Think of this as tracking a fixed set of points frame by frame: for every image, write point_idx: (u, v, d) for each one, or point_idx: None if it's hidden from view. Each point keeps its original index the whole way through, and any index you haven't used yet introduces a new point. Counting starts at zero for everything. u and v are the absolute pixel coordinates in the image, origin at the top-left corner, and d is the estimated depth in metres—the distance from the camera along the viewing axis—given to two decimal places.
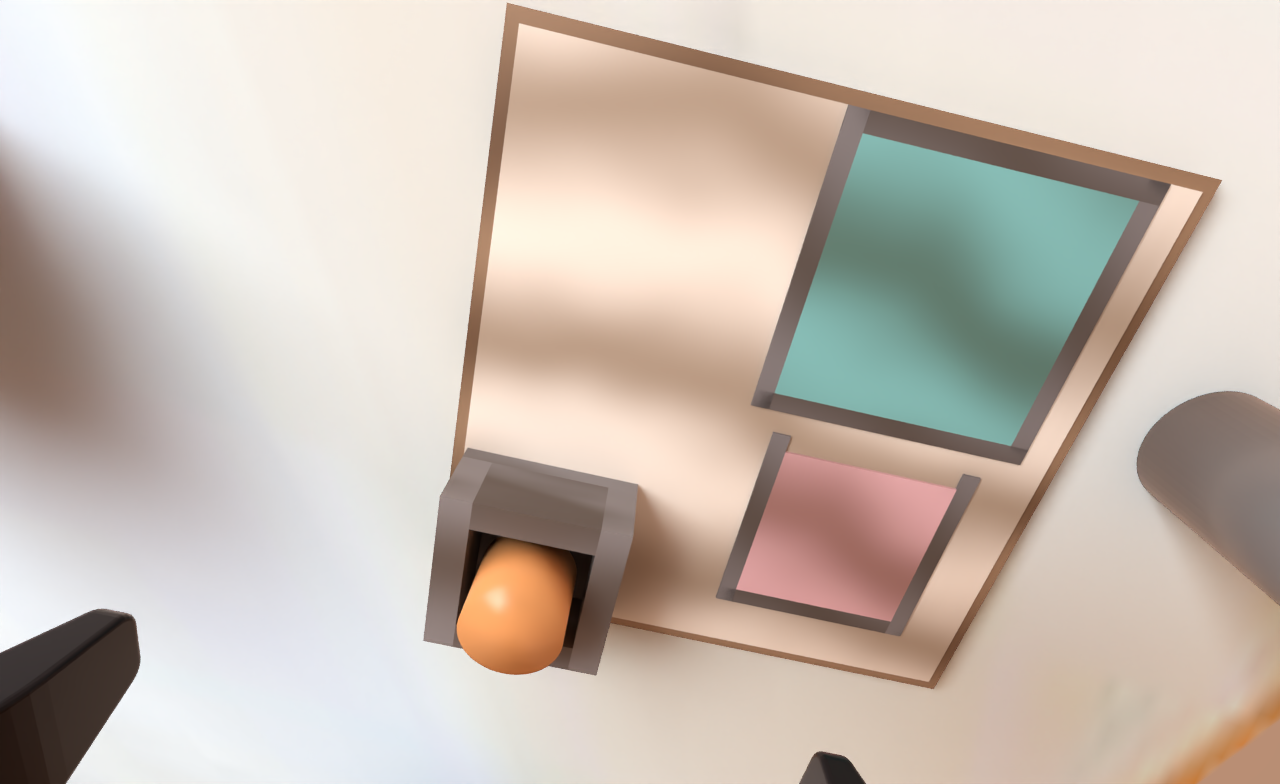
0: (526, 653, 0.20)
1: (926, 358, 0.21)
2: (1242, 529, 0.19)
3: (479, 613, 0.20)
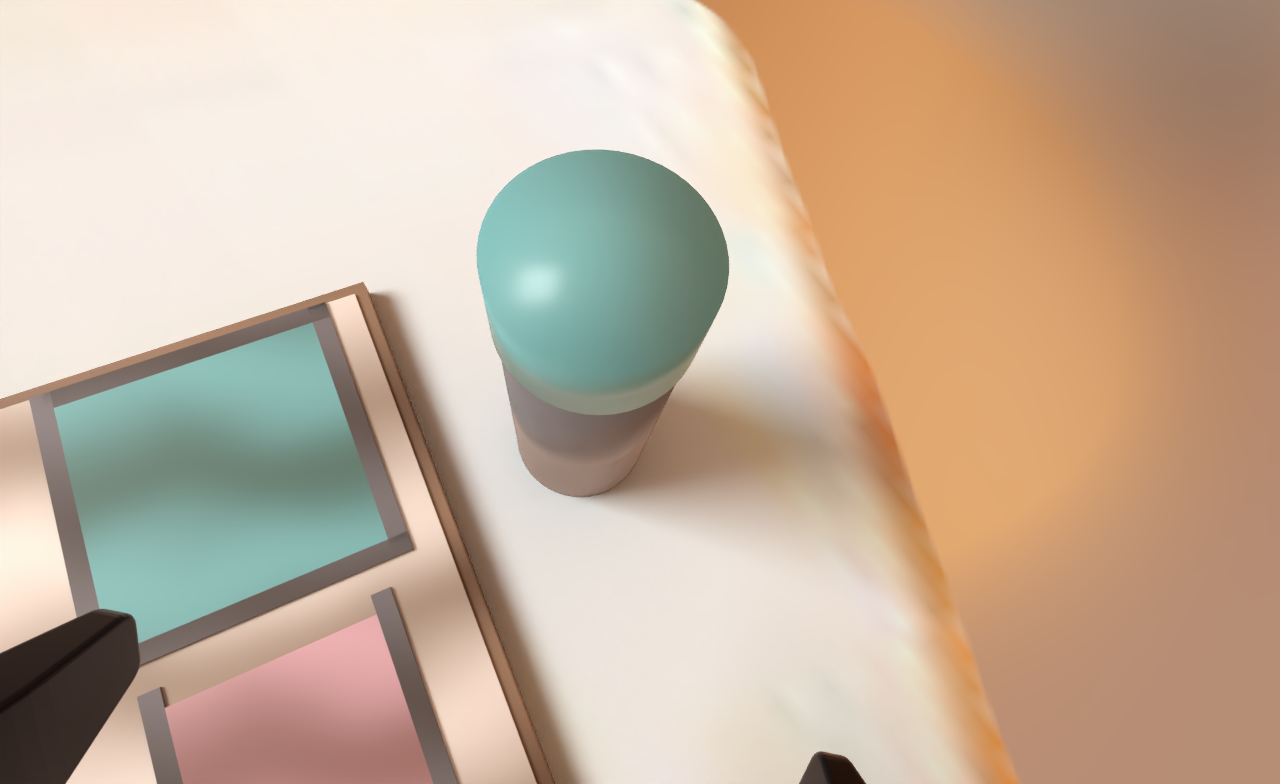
0: None
1: (241, 522, 0.21)
2: (522, 435, 0.19)
3: None
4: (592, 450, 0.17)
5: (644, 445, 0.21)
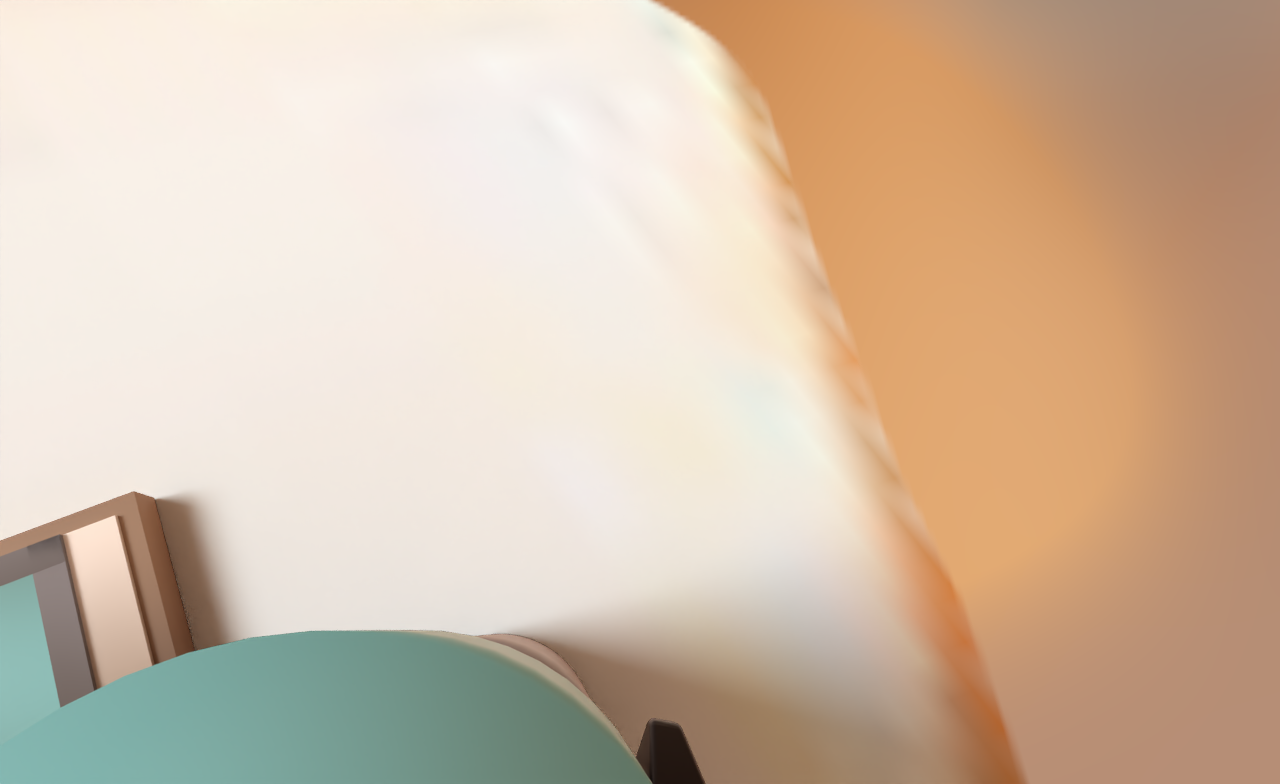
0: None
1: None
2: None
3: None
4: None
5: None
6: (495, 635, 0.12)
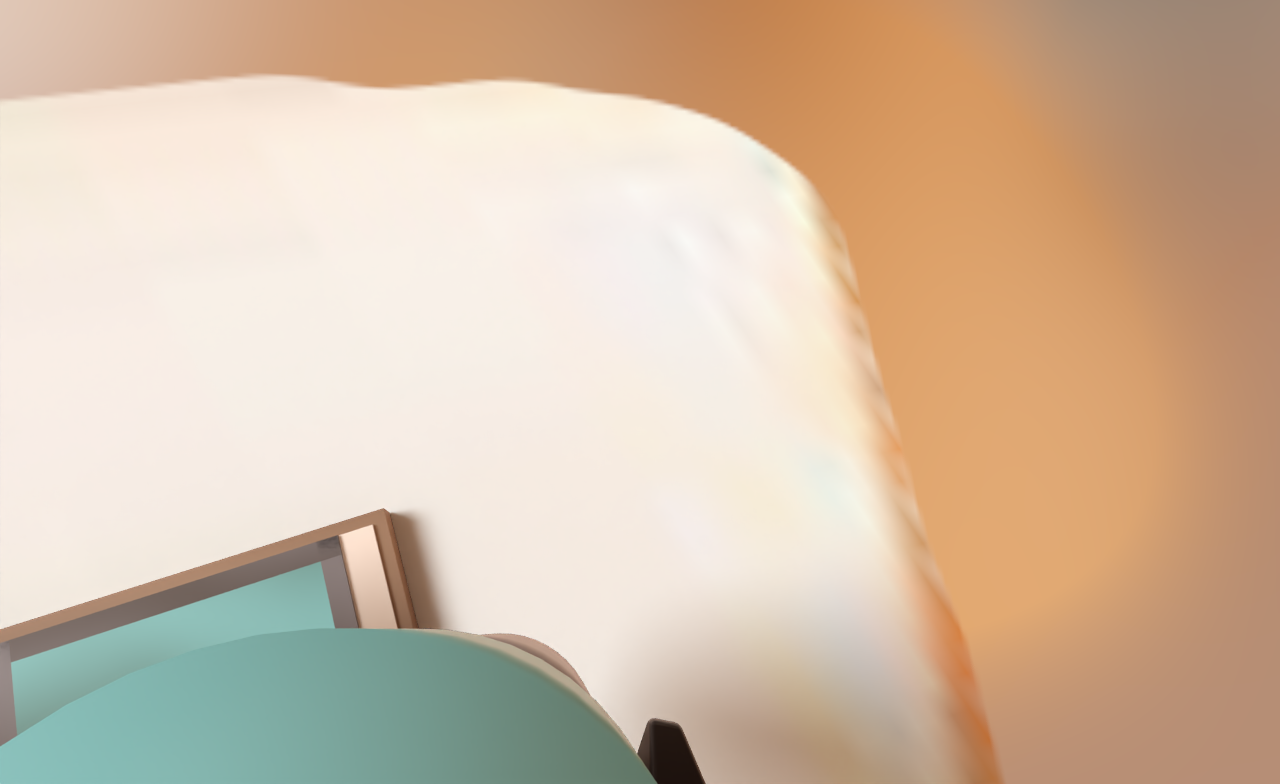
0: None
1: None
2: None
3: None
4: None
5: None
6: None
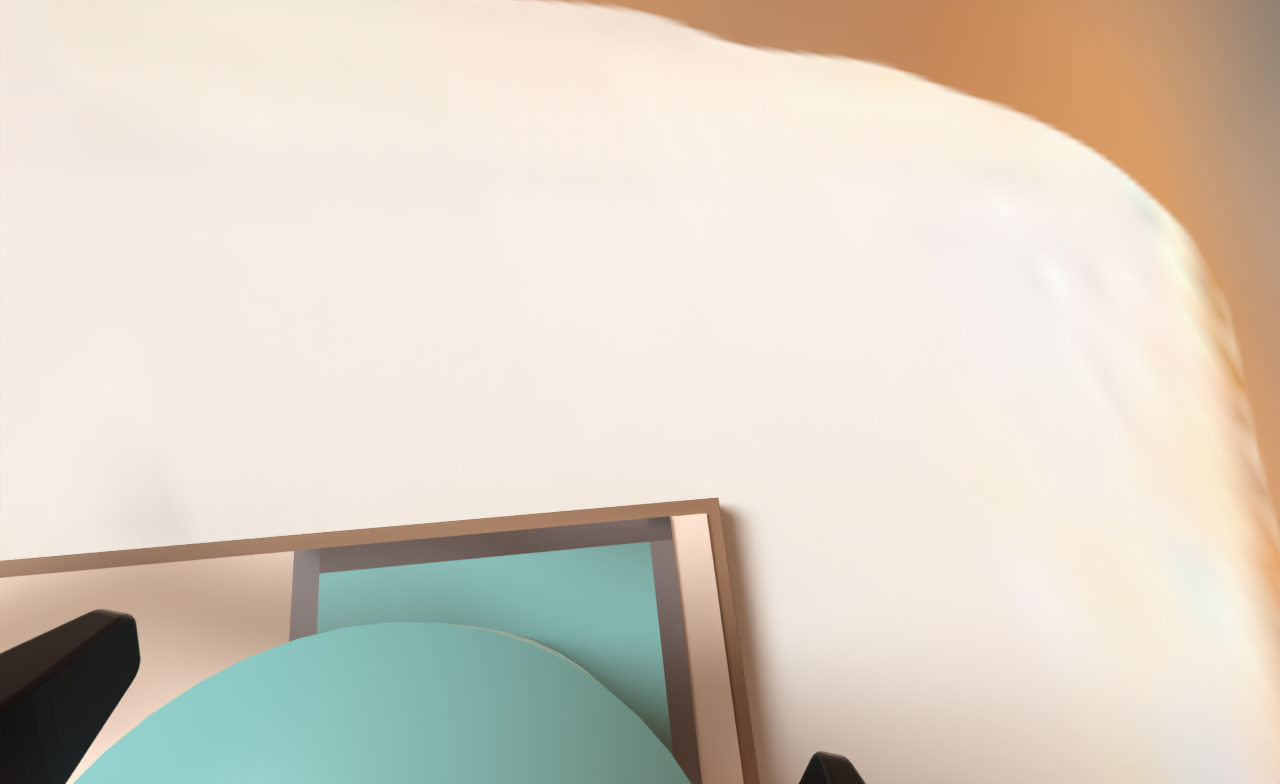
0: None
1: None
2: None
3: None
4: None
5: None
6: None
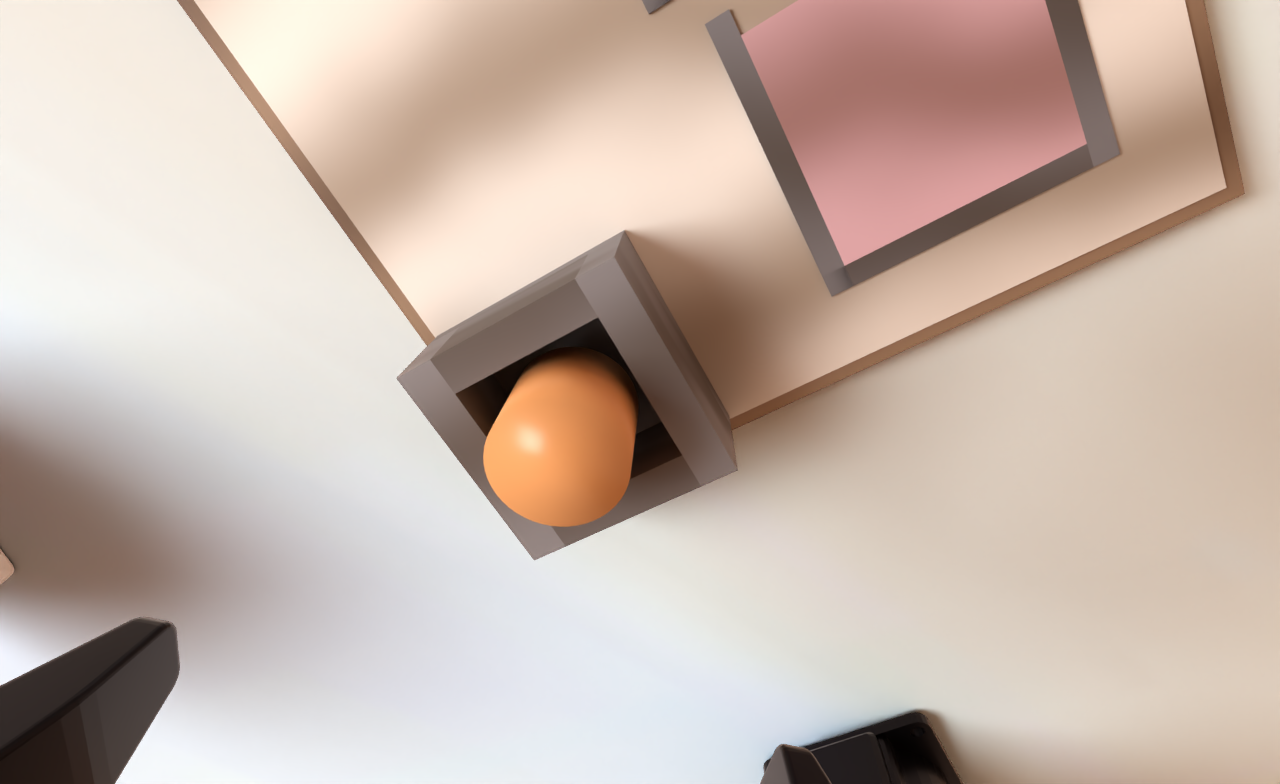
0: (593, 475, 0.15)
1: None
2: None
3: (503, 462, 0.15)
4: None
5: None
6: None
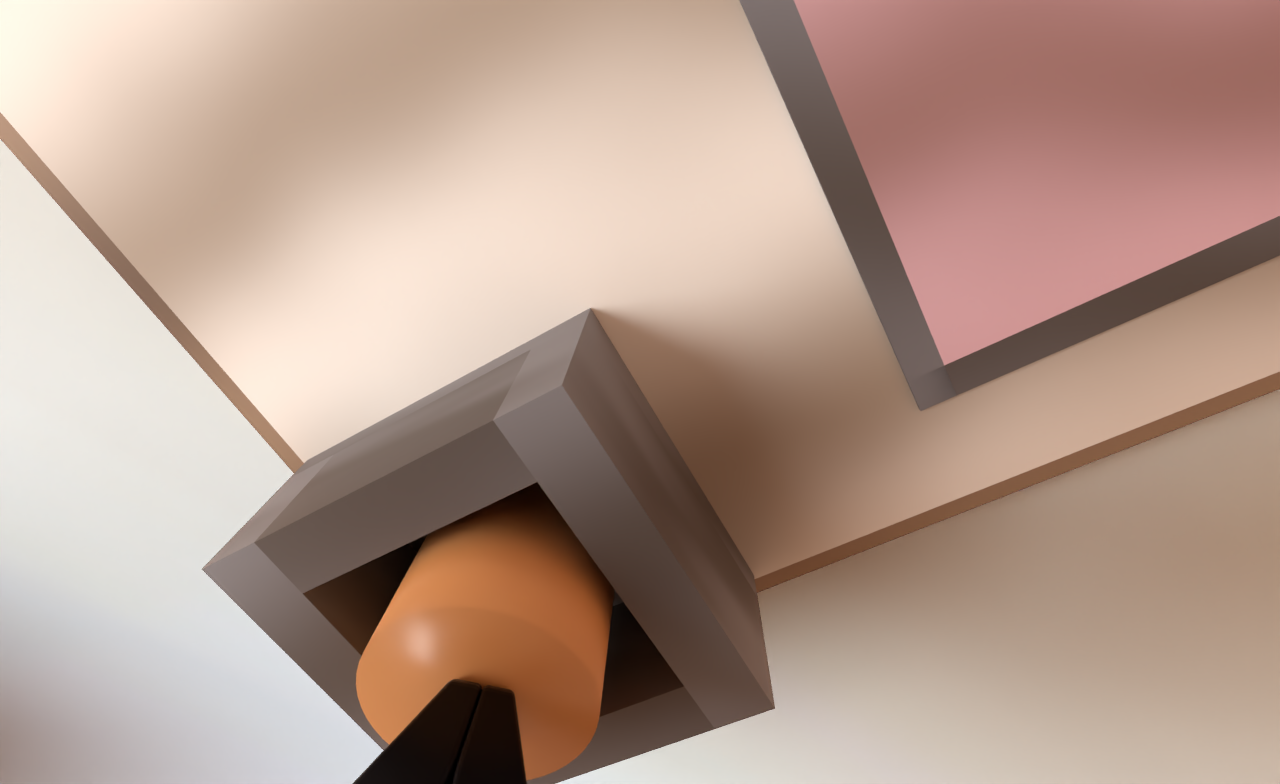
0: (538, 716, 0.09)
1: None
2: None
3: (390, 696, 0.09)
4: None
5: None
6: None
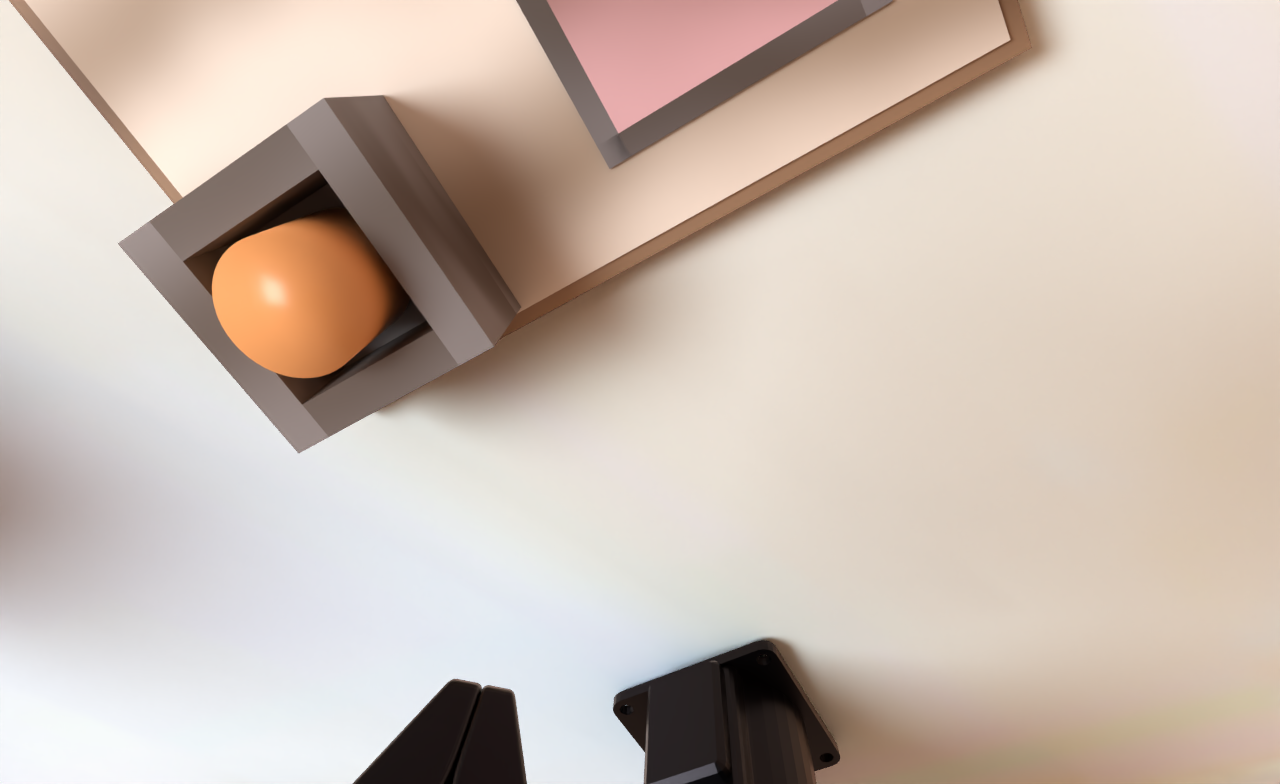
0: (325, 320, 0.14)
1: None
2: None
3: (234, 306, 0.14)
4: None
5: None
6: None
